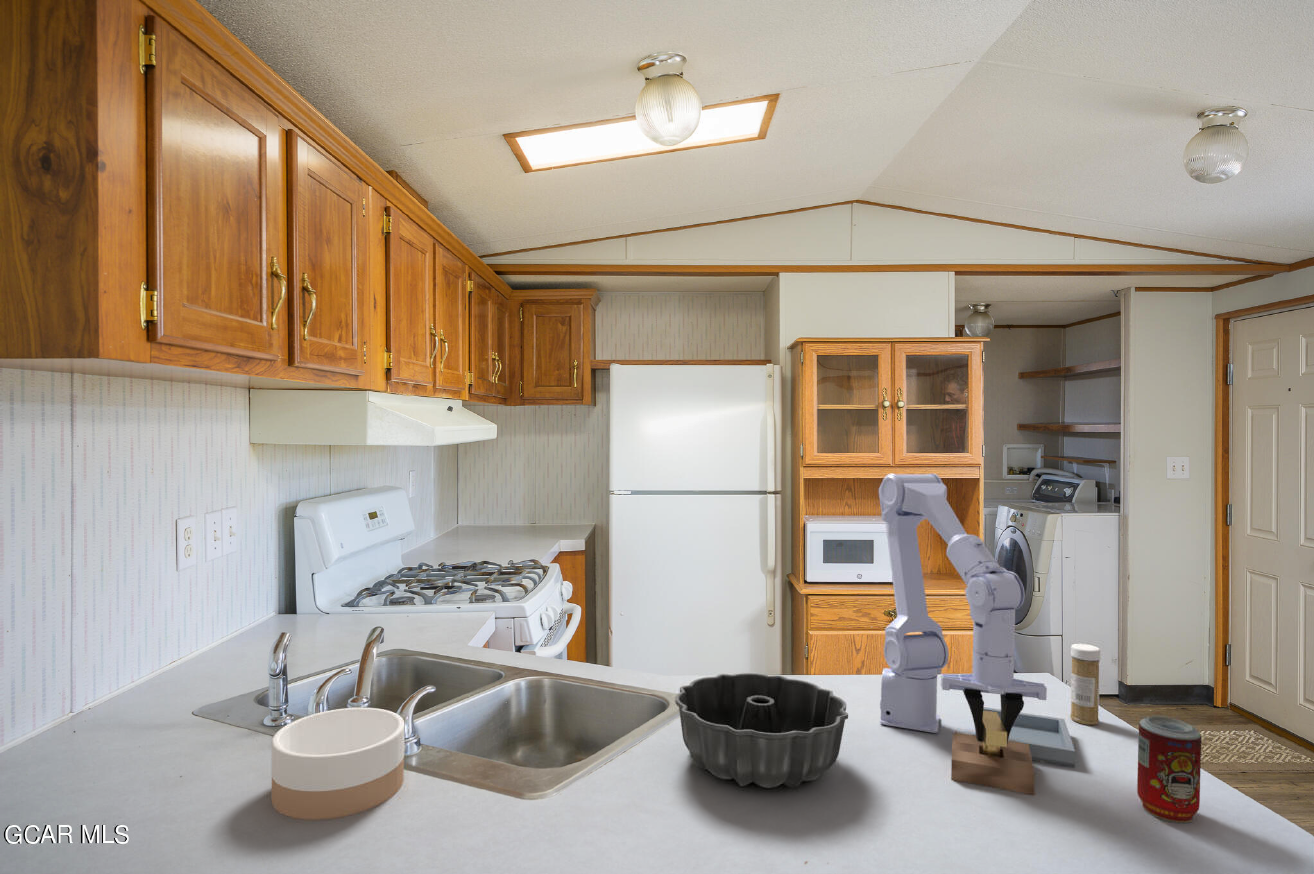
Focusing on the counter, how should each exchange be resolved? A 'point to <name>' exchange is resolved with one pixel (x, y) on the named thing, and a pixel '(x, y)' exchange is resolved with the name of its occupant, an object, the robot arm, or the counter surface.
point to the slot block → (992, 765)
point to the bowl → (337, 763)
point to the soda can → (1169, 768)
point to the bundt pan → (761, 728)
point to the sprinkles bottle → (1085, 684)
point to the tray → (1043, 737)
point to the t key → (993, 734)
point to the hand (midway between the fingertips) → (991, 740)
